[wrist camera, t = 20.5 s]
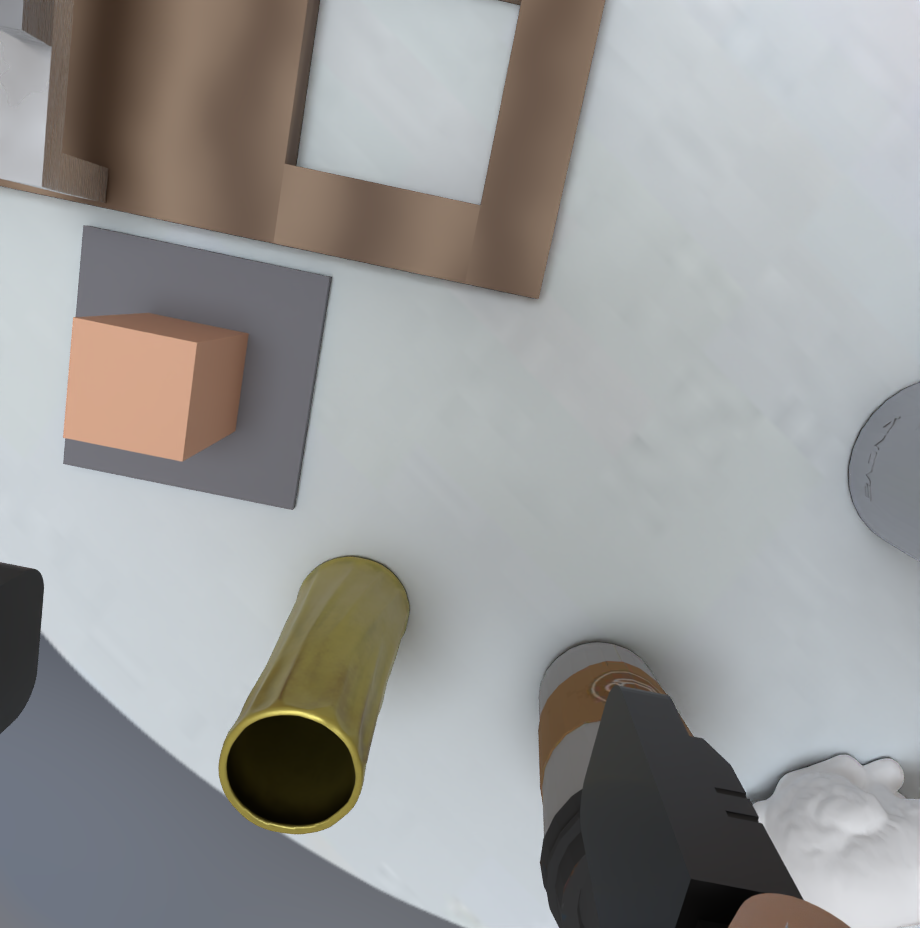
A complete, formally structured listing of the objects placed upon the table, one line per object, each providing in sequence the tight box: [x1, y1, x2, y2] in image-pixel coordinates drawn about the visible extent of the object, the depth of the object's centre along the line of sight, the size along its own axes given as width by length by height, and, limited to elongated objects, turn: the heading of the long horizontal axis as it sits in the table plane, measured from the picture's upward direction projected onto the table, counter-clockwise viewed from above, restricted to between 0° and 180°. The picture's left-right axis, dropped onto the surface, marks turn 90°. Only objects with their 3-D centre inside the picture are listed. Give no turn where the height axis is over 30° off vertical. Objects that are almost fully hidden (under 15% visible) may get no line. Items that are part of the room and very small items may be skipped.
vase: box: [219, 557, 410, 834], centre depth 33 cm, size 6×6×14 cm
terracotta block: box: [63, 313, 249, 462], centre depth 34 cm, size 5×5×7 cm
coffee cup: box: [538, 642, 693, 928], centre depth 34 cm, size 8×8×15 cm
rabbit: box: [753, 755, 920, 928], centre depth 37 cm, size 12×9×12 cm
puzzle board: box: [0, 0, 605, 299], centre depth 33 cm, size 28×16×2 cm, turn 78°
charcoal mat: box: [63, 225, 332, 510], centre depth 37 cm, size 12×12×1 cm
